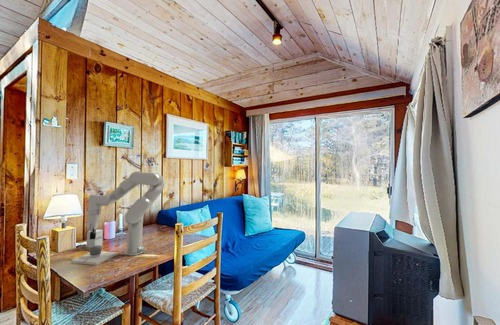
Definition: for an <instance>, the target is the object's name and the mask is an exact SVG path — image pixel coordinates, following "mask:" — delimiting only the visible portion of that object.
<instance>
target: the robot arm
mask: <svg viewBox="0 0 500 325" xmlns="http://www.w3.org/2000/svg"><path fill="white" fill-rule="evenodd" d="M139 185H143V186H144V185H145V186H150V187H149V188H148V189H147V190H146V192H145V193H144V194H143V195H142V196H141V197H139V198H138V199H137V200H135V202H133V204H132V206H130V208H129V209H128V210H127V211H126V212H125V214H124V222H125V223H126V224H128V225H127V243H126V250H125V251H124V255H126V256H137V255H141V254H143V253H144V252H146V251H147V247H144V244H143V230H144V229H143V227H144V226H143V224H144V216H145V215H144V214H145V213H146V212H147V211H148V209H150V208H151V207H152V205H153V204H154V203H155V201H156V200H157V199H158V197H159V196H160V194H161V193H162V192H163V190H164V187H165V179H164V177H163V175H162V174H160V173H159V172H152V173H151V172H142V171H133V172H131V174H129V176H128V177H127V178H125V179H124V180H122V182H120V183H119V185H118V186H117V188H115V189H114V190H112V191H111V192H110V193H107V194H103V195H102V194H95V193H94V194H90V195H89V197H88V207H87V216H88V218H87V226H86V230H88V231H90V239H95V238H96V230H97V228H99V221H100V215H101V214H102V213H101V212H102V206H104V207H106V206H107V207H108V206H110V205H112V204H114V203H116V202H117V201H119V200H120V199H122V198H123V197H124V196H126V195H127V194H128V193H129V192H131V191H133V190H134V189H135V188H137V187H138V186H139Z"/></svg>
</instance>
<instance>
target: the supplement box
mask: <svg viewBox="0 0 500 325" xmlns="http://www.w3.org/2000/svg"><path fill="white" fill-rule="evenodd" d="M103 235H104V230H103V229H96V238H95V239H90V230H88V231H87V232H86V246H101V247H102V246H103V238H104V236H103Z"/></svg>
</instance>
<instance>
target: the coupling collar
mask: <svg viewBox="0 0 500 325" xmlns="http://www.w3.org/2000/svg"><path fill="white" fill-rule="evenodd" d="M78 251H79V252H89V253H90V255H98V254H100V253H101V251H102V246H87V245H80V246H78Z"/></svg>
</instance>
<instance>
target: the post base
mask: <svg viewBox="0 0 500 325" xmlns="http://www.w3.org/2000/svg"><path fill="white" fill-rule="evenodd" d="M117 255H118V252H116V251H105V250H103V251H102V250H101V253H100V254H98V255H90V252H89V253H84V254H83V255H81V256H79V257H76V258H74V259H71V260H70V261H71V262H70V263H71V264H81V265H82V264H83V265H93V266H97V265H99V264H101V263H103V262H106V261H108V260H109V259H112V258H113V257H116V256H117Z"/></svg>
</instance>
